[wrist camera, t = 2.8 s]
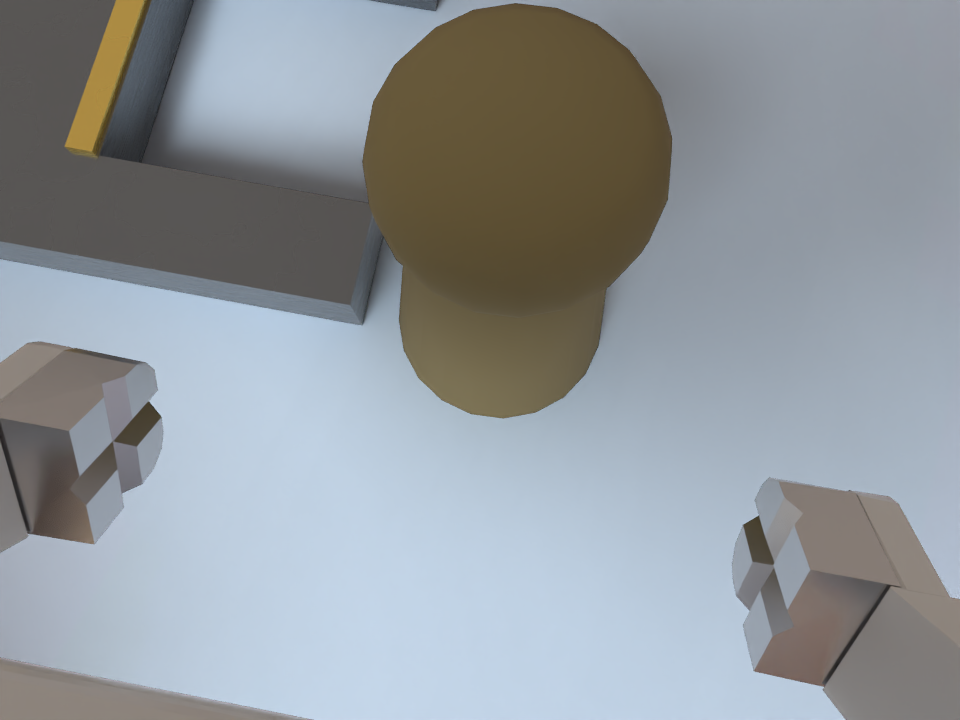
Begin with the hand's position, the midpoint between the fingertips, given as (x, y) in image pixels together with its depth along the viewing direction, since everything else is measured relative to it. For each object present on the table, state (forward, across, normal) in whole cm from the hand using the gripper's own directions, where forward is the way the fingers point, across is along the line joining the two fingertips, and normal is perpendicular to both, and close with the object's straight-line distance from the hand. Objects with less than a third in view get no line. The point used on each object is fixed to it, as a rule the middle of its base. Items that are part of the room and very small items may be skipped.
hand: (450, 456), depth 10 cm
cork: (+12, 0, +4) cm, 12 cm away
